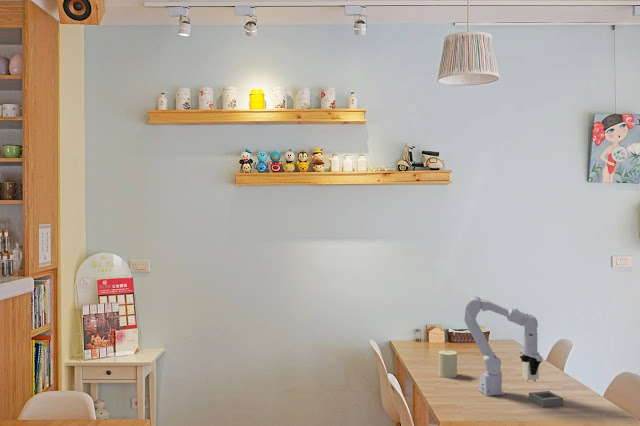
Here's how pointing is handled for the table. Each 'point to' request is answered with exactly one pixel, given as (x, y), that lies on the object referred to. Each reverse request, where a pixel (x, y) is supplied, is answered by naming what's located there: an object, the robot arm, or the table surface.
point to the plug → (529, 372)
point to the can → (447, 363)
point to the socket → (545, 398)
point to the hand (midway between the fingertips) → (530, 373)
